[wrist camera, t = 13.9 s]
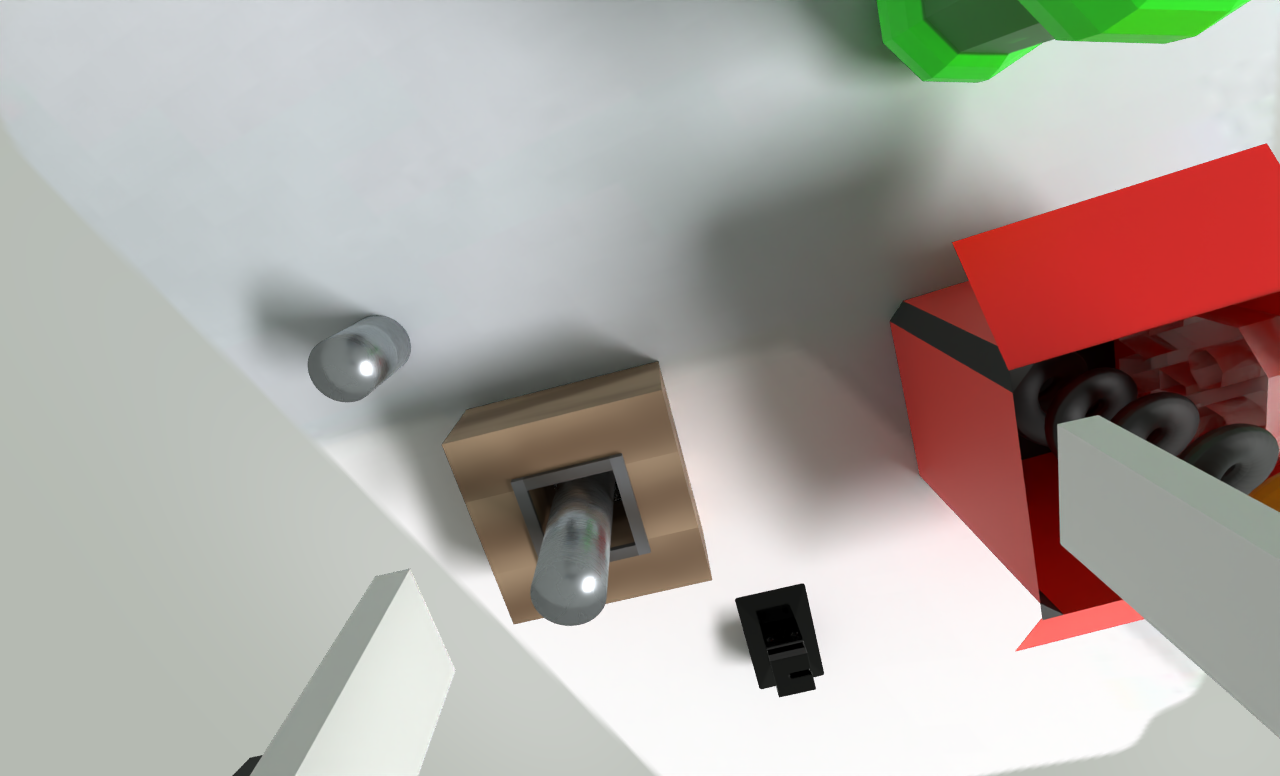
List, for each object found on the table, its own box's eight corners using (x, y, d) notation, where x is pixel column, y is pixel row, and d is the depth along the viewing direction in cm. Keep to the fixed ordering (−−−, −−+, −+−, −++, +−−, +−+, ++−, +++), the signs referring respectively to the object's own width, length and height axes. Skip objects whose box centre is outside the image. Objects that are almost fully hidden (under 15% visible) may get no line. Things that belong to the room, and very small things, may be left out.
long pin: (554, 454, 45) (520, 571, 32) (607, 441, 45) (595, 554, 32) (570, 501, 46) (543, 632, 33) (621, 489, 46) (615, 616, 33)
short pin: (342, 323, 42) (296, 347, 36) (397, 308, 42) (360, 330, 36) (365, 378, 43) (324, 409, 38) (419, 364, 43) (386, 393, 37)
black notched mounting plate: (834, 681, 53) (852, 726, 49) (750, 699, 54) (761, 746, 49) (808, 561, 49) (825, 599, 45) (718, 582, 50) (726, 622, 45)
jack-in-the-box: (1139, 494, 47) (1917, 989, 18) (934, 549, 48) (1362, 1088, 20) (1116, 145, 39) (2444, 70, 10) (871, 224, 40) (1441, 349, 12)
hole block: (466, 409, 44) (439, 447, 38) (658, 361, 43) (662, 392, 37) (527, 571, 48) (512, 628, 42) (702, 531, 47) (712, 583, 41)
